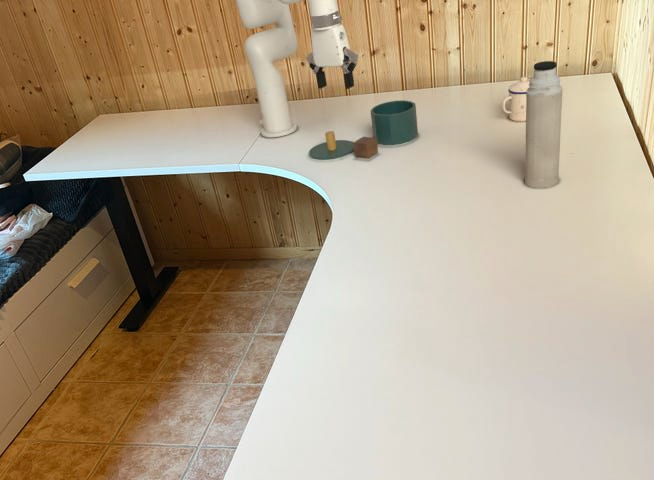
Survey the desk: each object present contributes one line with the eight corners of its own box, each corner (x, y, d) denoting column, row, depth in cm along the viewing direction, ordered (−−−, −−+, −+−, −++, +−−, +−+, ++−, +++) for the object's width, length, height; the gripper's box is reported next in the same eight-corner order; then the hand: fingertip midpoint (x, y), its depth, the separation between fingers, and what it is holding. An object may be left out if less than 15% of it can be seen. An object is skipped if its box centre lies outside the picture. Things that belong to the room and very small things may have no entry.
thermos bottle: (526, 175, 171) (528, 59, 154) (559, 174, 168) (565, 56, 151) (523, 188, 165) (524, 69, 148) (556, 187, 162) (562, 66, 146)
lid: (300, 157, 207) (296, 137, 204) (333, 141, 214) (330, 121, 211) (331, 164, 198) (328, 144, 194) (365, 147, 205) (363, 127, 201)
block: (355, 159, 199) (352, 142, 196) (365, 152, 202) (363, 136, 199) (368, 160, 196) (366, 144, 193) (378, 154, 199) (376, 138, 196)
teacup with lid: (528, 109, 210) (528, 71, 203) (545, 116, 203) (546, 76, 196) (494, 119, 207) (493, 80, 200) (510, 126, 200) (510, 86, 193)
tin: (365, 143, 208) (361, 112, 203) (394, 128, 215) (391, 98, 209) (397, 149, 200) (394, 117, 194) (427, 134, 206) (424, 103, 200)
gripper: (359, 15, 175) (368, 83, 185) (309, 19, 185) (320, 83, 195) (343, 23, 171) (353, 91, 180) (292, 26, 180) (304, 91, 190)
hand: (336, 87), depth 188 cm, fingers open, 9 cm apart
